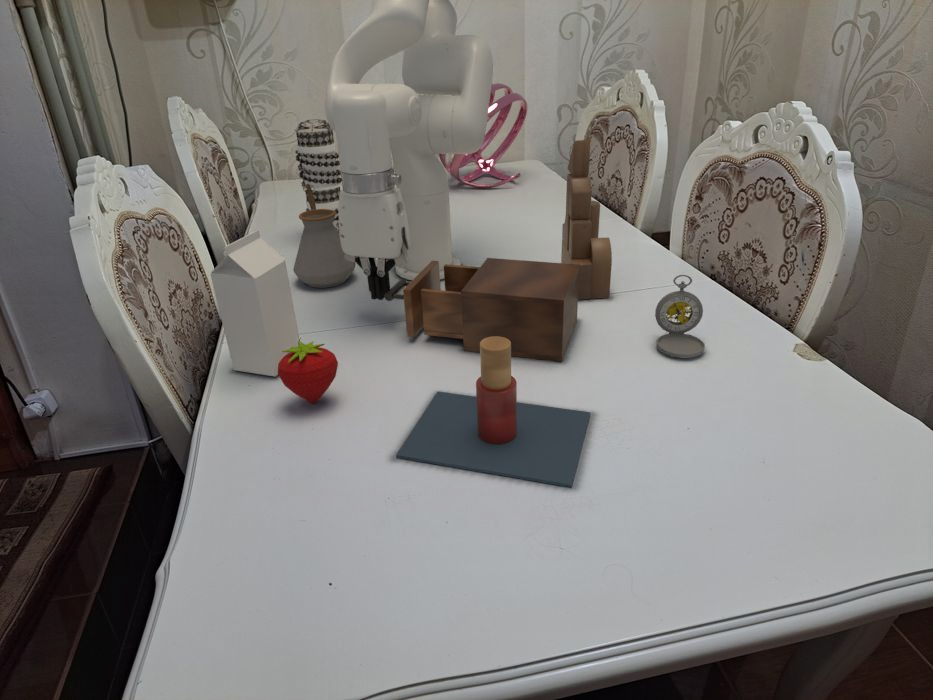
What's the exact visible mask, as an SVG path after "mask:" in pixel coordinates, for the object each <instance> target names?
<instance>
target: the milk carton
mask: <svg viewBox="0 0 933 700" xmlns="http://www.w3.org/2000/svg"><path fill="white" fill-rule="evenodd" d="M224 249H225V250H224V251H223V252H222V255H223V256H224V257H223V258H222V259H221V261H220V262H219V263H218V264H217V265H216V266H215V267H214V269H213V270H212V271H211V272H210V278H211V283H212V286H213V290H214V294H215V299H216V303H217V307H218V311H219V315H220V319H221V324H222V328H223V332H224V336H225V340H226V343H227V348H228V352H229V357H230V360H231V364H232V369H233V371H237V372H243V373H249V374H256V375H262V376H269V377H275V378H276V377H277V376H279V375H278V363H279V362H280V361H281V359H282V358H283V357H284V356H285V355H286V354H288V353H290V352H282V351H283V350H288V349H290V347H298V342H299V339H300V338H301V337H300V333H299V329H298V328H299V327H298V323H297V322H298V321H297V317H296V310H295V306H294V301H293V295H292V289H291V285H290V284H291V283H290V278H289V273H288V268H287V262H286V258H284V256H283V255H281V254H280V253H278V251H276V250H275V249H274V248H273V247H272V246H271V245H270V244H268V243H267V242H266V241H265V240H264V239H263V238H262V237H261V234H260V230H259V229H257V230H255V231H253V232H251V233H249V234H247V235H245V236H243V237H240V238H239V239H237V240H235V241H233V242H231V243H229V244H227V245H225V246H224ZM300 340H301V339H300Z"/></svg>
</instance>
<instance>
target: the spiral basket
mask: <svg viewBox="0 0 933 700" xmlns="http://www.w3.org/2000/svg"><path fill="white" fill-rule="evenodd" d="M501 89H503V91H504V95H503V96H501V97H500V98H498V99H496V100H495V96H496V91H498V90H501ZM518 101H519V102H520V107H519V110H518V113H517V114H518V115H517V117H516V119H515V122H514V123H513V125H512V126H511V129H510V131H508V134H507V135H506V136H505V138H504V139H503V141H502V142H501V144H500V145H499V146H498V148H497V149H496V150H495V151H494V152H493V153H492V154H491V156H489V157H487V158H483V156H482V153H483V152H484V151H485V149H486V148H487V147H489V145H490V144H491V143H492V141H493V140H494V139H495V138H496V137H497V135H498V133H499V132H500V130H501V129H502V127H503V125H504V124H505V122H506V120H507V119H508V117H509V114H510V111H511V109H512V106H513V103H514V102H518ZM527 114H528V103H527V100H526V98H524V96H523V95H521V94H520V93H517V92H513V90H512V89H511V87H510V86H509V85H507V84H505V83H500V82H499V83H492V85H491V93H490V101H489V109H488V117H487V123H488V122H489V121H490V120H491V119H492V118H494V116H495V115H497V116H496V118H495V120H494V122H493V124H492V125H491V126H490V128H489V129H488V131H486V132H485V138H484V141H483V144H482V146H481V148H480V149H479V150H478V151H477V152H475V153H471V154H453V157H452V160H451V161H446V155H447V154H438V157H439V161H440V162H441V164H442V165H443V167H444V169H445V171H446V172H448V174H449V175H450V176H451V177H452V178H454V179H455V180H456V181H457V182H459V183H461V184H463V185H465V186H468V187H471V188H475V189H492V188H497V187H500V186H502V185H506V184H507V183H509V182H511V181H515V180H516V179H518V178H520V177H521V175H522V173H521V172H518V173H517V174H515V175H511V174H510V175H509V174H506V173H504V172H502V171H500V170H499V169H497V168H496V167H495V165H496V163H498V161H499V160H500V159H501V158H502V157H503V156H504V155H505V153H506V152H507V151H508V150H509V148H510V147H511V146H512V144H513V142H514V141H515V140H516V138H517V137H518V134H519V133H520V131H521V130H522V128H523V125H524V123H525V121H526V118H527ZM470 163H475V165H477V168H475V169H474V170H472V171H471V172H469V173H467V174H465V175H462V176H460V175H459V174H460V173H459V172H460V169H462V168H464V167H465V166H467V165H468V164H470ZM485 174H486V175H487V174H488V175H490V176H492V177H494V178H496V179H499V180H501V181H499V182H495V183H489V184H487V183H486V184H482V183H481V184H480V183H479V184H478V183H473V181H474V180H477V179H478V178H480V177H481V176H483V175H485Z"/></svg>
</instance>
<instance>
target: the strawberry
mask: <svg viewBox="0 0 933 700" xmlns="http://www.w3.org/2000/svg"><path fill="white" fill-rule="evenodd" d="M299 338H300V339H299V342H298V347H290V349H288V350H283V351H282V352H290V353H288V354H286V355H285V356H284V357H283V358H282V359H281V361H280V362H279V363H278V375H277V376H278V377H279V378H280V380H281V382H282V384H283V385H284V387H285V388H287V389H288V390H289V391H291V392H292V393H293V394H294V395H296V396H297V397H300V398H302V399H303V400H305V401H306V402H307V403H310V404H316V403H318V402H319V401H320V400H321V398H322V396H323V395H324V394H325V393H326V392H327V390H328V389H329V388H330V386H331V385H332V383H333V381H334V380H335V378H336V377H337V372H338V367H339V362H338V359H337V357H336V355H335V353H334V352H332V351H330V350H329V349H328V348H324V347H322V346H325V343H319V344H314V340H313V341H310V342H308V343H304V342H303V341H301V339H302V337H299Z"/></svg>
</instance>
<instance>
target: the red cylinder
mask: <svg viewBox="0 0 933 700" xmlns="http://www.w3.org/2000/svg"><path fill="white" fill-rule="evenodd" d="M479 358H480V359H479V361H480V376H479V377H478V378H477V379H476V381H475V397H476V399H477V426H478V436H479V438H480V439H481V440H483V441H484V442H487V443H490V444H504V443H508V442H510V441H512V440H513V439H514V438H515V436H516V434H517V402H518V400H517V399H518V398H517V397H518V396H517V395H518V393H517V392H518V391H517V390H518V388H517V387H518V385H517V383H518V382H517V380H516V378H515V377H514V376H512V356H511V342H510V340H509V339H507V338H505V337H500V336H492V337H487V338H485V339H483V340H482V341H481V342H480V352H479Z"/></svg>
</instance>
